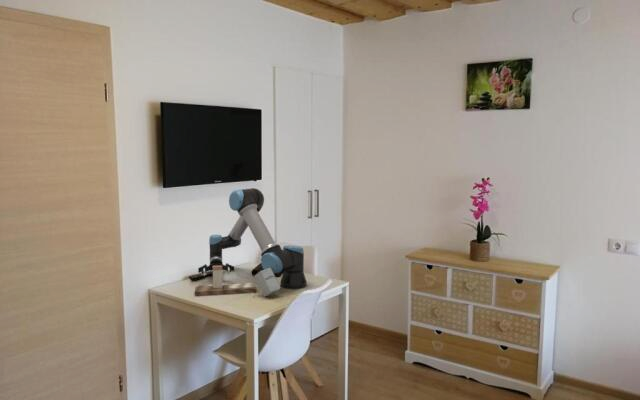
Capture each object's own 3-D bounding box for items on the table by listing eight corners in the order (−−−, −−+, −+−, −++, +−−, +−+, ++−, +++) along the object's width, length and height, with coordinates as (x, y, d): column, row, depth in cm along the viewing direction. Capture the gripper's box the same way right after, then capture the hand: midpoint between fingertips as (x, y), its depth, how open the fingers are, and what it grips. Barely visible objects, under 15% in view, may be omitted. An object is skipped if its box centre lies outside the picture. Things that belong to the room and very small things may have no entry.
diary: (251, 277, 314) (250, 269, 314) (262, 267, 339) (262, 260, 338) (280, 278, 311) (280, 270, 311) (289, 268, 336) (289, 260, 335)
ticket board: (255, 287, 289) (255, 282, 289) (256, 292, 279) (256, 287, 279) (195, 291, 282) (195, 285, 282) (195, 296, 272) (194, 290, 272)
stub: (222, 286, 281) (222, 265, 280) (222, 287, 279) (222, 266, 277) (213, 287, 280) (212, 265, 279) (213, 288, 278) (212, 266, 276)
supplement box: (270, 292, 267) (260, 270, 269) (263, 297, 272) (253, 276, 275) (281, 288, 272) (270, 266, 275) (274, 292, 277) (264, 272, 280)
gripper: (237, 269, 309) (239, 278, 288) (195, 271, 304) (193, 280, 283) (237, 256, 308) (239, 265, 287) (194, 258, 303) (193, 267, 282)
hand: (216, 272), depth 285 cm, fingers open, 13 cm apart
